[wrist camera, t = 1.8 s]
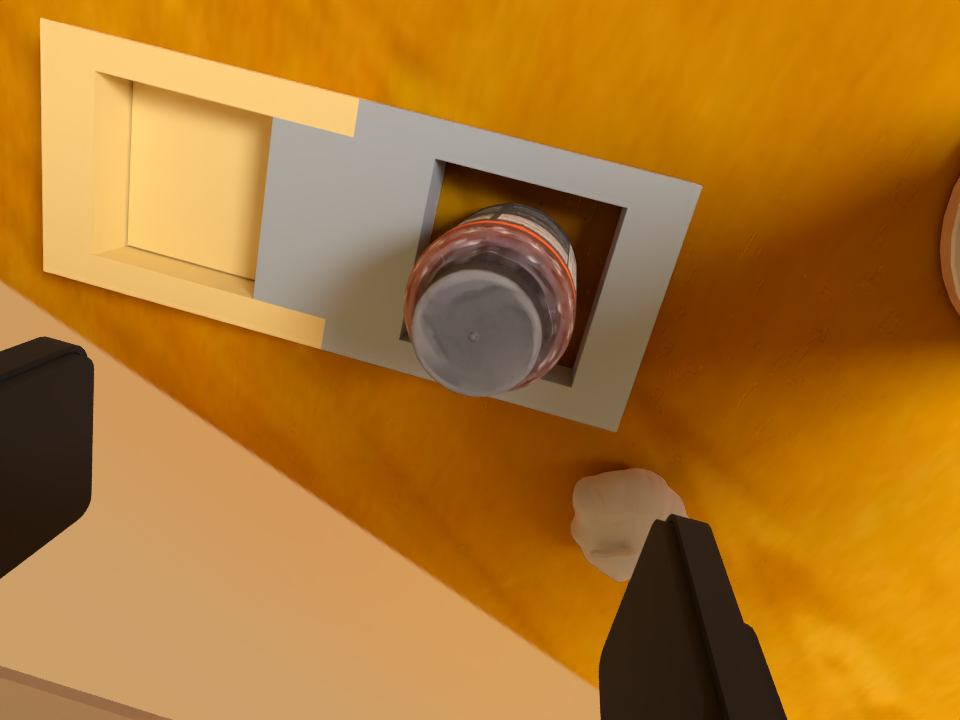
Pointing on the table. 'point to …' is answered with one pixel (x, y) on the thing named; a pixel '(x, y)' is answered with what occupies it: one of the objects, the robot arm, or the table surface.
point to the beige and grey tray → (312, 208)
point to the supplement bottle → (493, 301)
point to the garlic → (620, 517)
